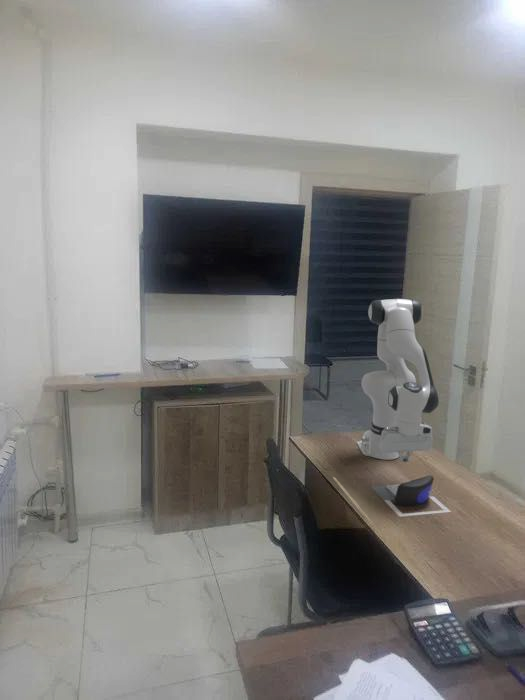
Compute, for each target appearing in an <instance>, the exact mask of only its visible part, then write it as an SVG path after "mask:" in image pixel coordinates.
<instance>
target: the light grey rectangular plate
mask: <svg viewBox="0 0 525 700" xmlns="http://www.w3.org/2000/svg"><path fill="white" fill-rule="evenodd" d="M400 484H401V483H397V484H387V485H384V486H385V488H386V489H387V490H388V491H389V492H390V493H391V494H392V495H393V496H394V497H396V493H397V489H398V486H399V485H400Z"/></svg>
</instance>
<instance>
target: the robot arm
mask: <svg viewBox="0 0 525 700" xmlns="http://www.w3.org/2000/svg"><path fill="white" fill-rule="evenodd" d="M367 313H368V317H369V322H371V323H372V324H375V325H378V330H377V331H378V332H377V342H376V343H377V345H376V346H377V347H376V348H377V349H376V350H377V351H376V354H377V358H378V359H379V360H380V361H382V362H383V363H385V365H386V370H375V371H371V372H367V373H365V374H364V375H363V377H362V378H361V388H362V389H361V390H363V392H364V394H366V395H367V396H368V397H369V398H370V400H371V402H372V408H373V417H372V421H371V422H370V427H369V428H370V429H369V430H367V431H365V432H364V433H363V434H362V436H361V440H359V441H357V446H358V448H359V450H360V451H361V453H362V455H363V456H365V457H372V458H374V459H379V460H384V461H386V460H395V459H398V458H399V462H400V463H408V462H410V458H411V456H412V455H413V452H421V451H431V450H432V447H433V442H434V436H433V434H432V433H433V432H434V430H433V427H432V426H431V425H428V424H427V423H426V422H423V421H422V414H431V413H433V412H434V411H435V410H436V409H437V408H438V407H439V402H440V401H439V395H438V392H437V389H436V386H435V383H434V379H433V376H432V375H433V374H432V372H431V371H432V370H431V367H430V363H429V359H428V356H427V353H426V350H425V349H424V347H422V345H420V343H419V342H418V340H417V338H416V331H415V325H416V324H418V323H419V322H420V321H421V320H422V316H423V307H422V304H421V302H420V301H419V300H416V299H413V298H410V299H405V298H393V299H391V298H390V299H375V300H372V301H371V303H370V304H369V307H368V311H367ZM405 360H406V361H408V362H410V363H411V364H413V365H414V366H415V369H416V370H417V375H418V380H419V384H418V383H417V380H416V376H415V375H414V373H413V372H412V371H411V370H410V369H409V368H408V367H407V364H406V362H405ZM405 452H406V454H405V455H404V453H405Z"/></svg>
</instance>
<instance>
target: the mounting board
mask: <svg viewBox="0 0 525 700" xmlns="http://www.w3.org/2000/svg"><path fill="white" fill-rule="evenodd" d="M371 489H372V490H374V492H375V493H376V494H377V495H378V496H379V497H380V498H381V499H382V500H383V501H384V502H385V503H386V505H388V506H389V507H390V508H391V509H392V510H393V511H394V512H395V514H396V515H397V516H398V517H410V516H411V517H413V516H420V515H421V516H422V515H423V516H424V515H431V514H443V513H452V510H450V509H449V508H448V507H446V505H444V504H443V503H442V502H441V501H439V499H437V498H436V497H435V496H434V495H433V494H431V493H430V494H429V498H428V499H431V501H433V502H434V503H435V504H436V505H438V507H439V508H440V509H439V510H431V511H419V512H408V513H403V512H402V511H400V509H398V507H396V506H397V505H395V503H394V504H393V503H392V501H395V497H394V496H393V495H392V494H391V493H390V492H389V491H388V490H387V489H386V488H385V485H380V486H377V485H376V486H371ZM441 509H442V510H441Z"/></svg>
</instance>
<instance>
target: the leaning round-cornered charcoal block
mask: <svg viewBox="0 0 525 700" xmlns="http://www.w3.org/2000/svg"><path fill="white" fill-rule="evenodd" d="M434 480H435V479H434V476H433V475H427V476H423V477H419V478H417V479H414V480H410V481H406V482H402V483H399V484H400V485H399V486H398V489H397V493H396V497H395V500H393V501H394V505H395V506H399V507H400V506H401V507H412V506H418V505H423V504H424V503H426V502H427V501H428V499H430V498H429V494H431V490H432V488H433V487H432V486H433V483H434Z"/></svg>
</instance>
